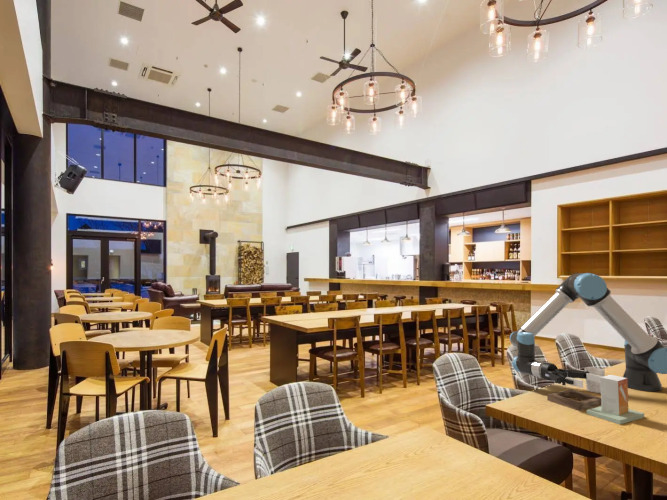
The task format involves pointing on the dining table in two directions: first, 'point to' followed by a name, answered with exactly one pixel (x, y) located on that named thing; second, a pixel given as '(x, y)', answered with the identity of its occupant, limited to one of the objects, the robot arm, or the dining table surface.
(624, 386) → the small box
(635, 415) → the board
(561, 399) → the walnut holder
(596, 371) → the white cup
